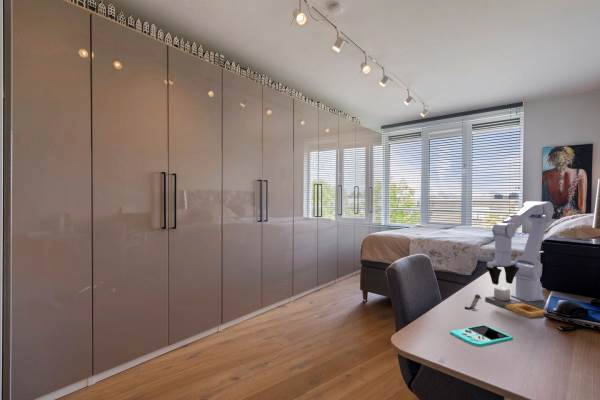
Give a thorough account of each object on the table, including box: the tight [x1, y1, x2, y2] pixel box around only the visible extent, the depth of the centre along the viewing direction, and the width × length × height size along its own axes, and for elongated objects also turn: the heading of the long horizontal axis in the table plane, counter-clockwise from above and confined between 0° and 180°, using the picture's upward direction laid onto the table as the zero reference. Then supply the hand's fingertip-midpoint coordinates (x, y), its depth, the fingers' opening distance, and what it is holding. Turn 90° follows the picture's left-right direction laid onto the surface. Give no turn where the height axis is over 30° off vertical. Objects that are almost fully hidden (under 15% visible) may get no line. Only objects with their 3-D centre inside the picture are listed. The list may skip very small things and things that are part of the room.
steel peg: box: [493, 286, 511, 302], centre depth 128 cm, size 4×4×6 cm
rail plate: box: [484, 295, 546, 319], centre depth 122 cm, size 9×19×2 cm, turn 16°
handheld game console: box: [449, 324, 514, 347], centre depth 97 cm, size 10×16×1 cm, turn 110°
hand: (502, 283), depth 127 cm, fingers open, 7 cm apart
